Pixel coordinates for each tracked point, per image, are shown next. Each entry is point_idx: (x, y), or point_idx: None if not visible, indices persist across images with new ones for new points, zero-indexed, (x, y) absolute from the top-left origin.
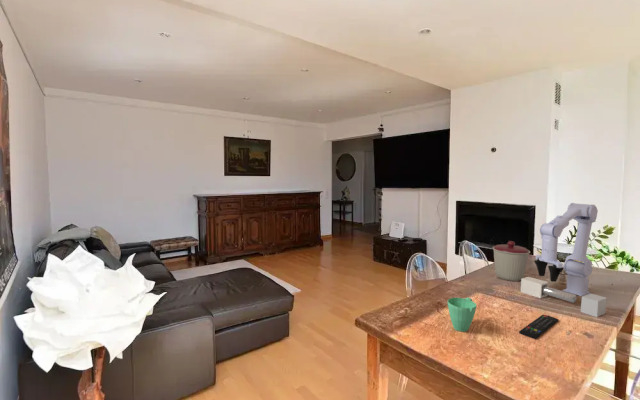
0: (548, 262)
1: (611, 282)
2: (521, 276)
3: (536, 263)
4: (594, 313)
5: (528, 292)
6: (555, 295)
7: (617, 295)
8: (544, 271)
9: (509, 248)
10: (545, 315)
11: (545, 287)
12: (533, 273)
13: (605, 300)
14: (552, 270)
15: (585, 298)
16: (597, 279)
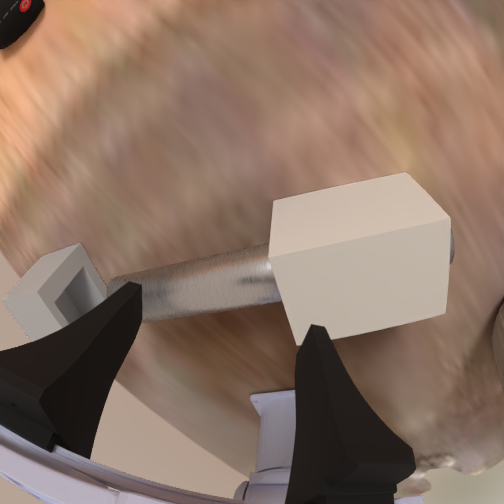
0: (54, 469)
1: None
2: (498, 336)
3: (367, 438)
4: (40, 260)
5: (357, 188)
6: (194, 260)
7: (237, 455)
8: (298, 395)
9: None
10: (28, 9)
11: (267, 277)
12: (482, 411)
13: None
14: (16, 347)
15: (29, 290)
16: None
